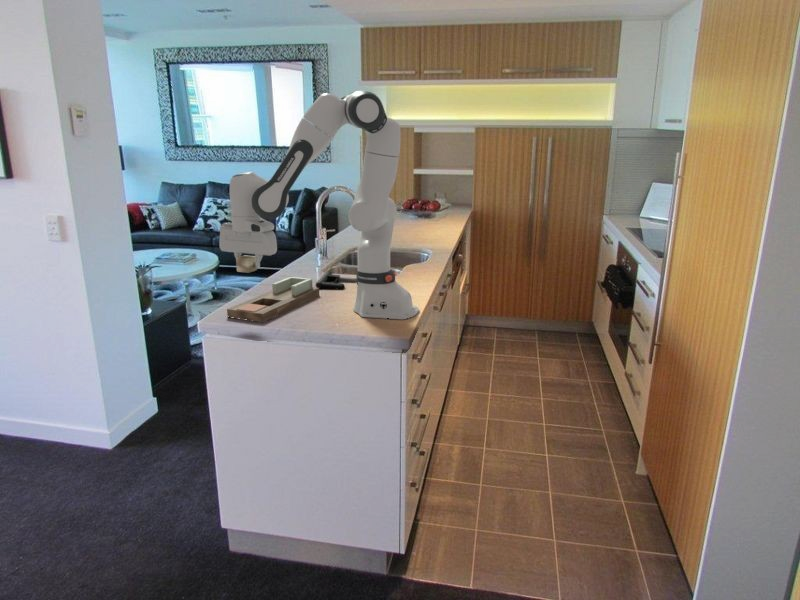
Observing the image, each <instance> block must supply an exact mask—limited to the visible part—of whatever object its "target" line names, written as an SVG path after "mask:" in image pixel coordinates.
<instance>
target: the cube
mask: <svg viewBox="0 0 800 600" xmlns="http://www.w3.org/2000/svg"><path fill="white" fill-rule="evenodd" d="M256 259H257V258H256V257H255V255H247V254H246V255H241V256H240V257H237V258H235V263H236V264H235V266H236V272H238V273H247V274H249V273H252V272H255V271H258V268H254V267H253V262H255V261H256Z"/></svg>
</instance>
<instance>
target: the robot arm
mask: <svg viewBox="0 0 800 600" xmlns="http://www.w3.org/2000/svg"><path fill="white" fill-rule="evenodd" d="M347 124H348V125H351V126H353V127H355V128H358V129H362V130H364V132H365V135H366V145H365V149H364V157H363V164H362V171H361V176H360V180H359V184H358V186H357V189H356V192H355V196H354V199H353V201H352V204H351V206H350V208H349V210H348V215H347V218H348V221H349V224H350V225H351V227H352V228H353V229H354V230H356V231H358V232H361V235H360V238H359V242H358V245H357V270H356V279H357V282H356V286H357V290H356V298H355V303H354V306H353V307H354V308H353V311H354V312H355V313H357V314H358V315H359V316H360V317H361V318H371V319H372V318H373V319H374V318H375V319H376V318H377V319H387V318H389V320H391V319H392V320H406V319H407V318H408V319H410V317H411V318H412V317H415V316H416V315H417V314H418V313H419V312H420V308H419V306H417V305H413V299H412V295H411V293H410V292H409V291H408V290H407V289H405V288H404V287H403V286H402V285H401V284H400V283H399V282H397V281H396V277H397V275H398V272H397V271H396V272H394V271H392V269H391V244H392V237H393V232H394V225H395V218H396V215H397V205H396V203H395V201H394V200H393V199H392V198H391V197H390V195H391V192H392V189H393V187H394V184H395V182H396V178H397V173H398V165H399V160H400V153H401V135H402V134H401V127H400V124H399V123H398V122H397V121H396V120H395V119H393V118H391V117H387V114H386V111H385V108H384V105H383V103H382V101H381V99H380V98H379V96H377V95H376V94H375V93H373V92H371V91H368V90H362V89H361V90H356V91H353V92H350V93H349V94H347V95H344V96H342V97H339V96H337V95H336V94H333V93H328V92H327V93H322V94H320V95H319V96H318V97H317V98H316V99H315V100H314V102H313V103H312V104H311V105H310V107H309V108H308V109H307V110H306V112H305V113H304V115H303V116H302V118H301V119H300V120H299V123H298V125H297V126H296V129H295V130H294V134H293V136H292V139H291V142H290V144H289V148H288V150H287V152H286V154H285V157H284V158H283V160H282V162H281V163H280V164H279V166H278V168H277V169H276V170H275V172H274V174H273V175H272V176H271V178H270V179H269V180H268V179H266V178H263V177H261V176H260V175H259V174H257V173H255V172H254V171H246V172H241V173H236V174H234V175H233V176H232V177H231V178H230V180H229V203H230V205H231V213H230V216H231V218H230V219H231V222H223V223H221V225H220V226H219V242H218V243H219V249H220V250H221V252H228V253H233V255H234V258H235V259H236V258H237V257H240V256H243V255H242V254H246V255H247V254H249V255H254V256H255V257H256V261H255V262H253V267H254V268H257V269H259V268H260V267H261V261H262V259H263V257H264V256H272V255H275V254H276V253H277V251H278V242H277V235H276V234H275V232H274V230H275V224H274V223H273V222H271V221H270V220H275V219H277V218H279V217H281V215H282V214H283V213H284V212H285V210H286V207H287V206H288V204H289V200H290V196H289V193H290V191H291V189H292V187H293V186H294V184H295V182H297V180H298V178H299V177H300V175H301V174H302V172H303V171H304V169H305V168H306V167H307V166H308V165H309V164H310V163H311V162H313V161H314V160H315V159H317V158H318V157H319V156H321V154H322V153H323V152H324V151H325V150H326V149H327V148H328V146H329V145H330V144H331V142H332V141H333V139H334V138H335V137H336V135H337V133H338V132H339V130H340V129H341V128H342V127H343V126H345V125H347ZM268 220H269V221H268ZM408 319H407V320H408Z"/></svg>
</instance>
